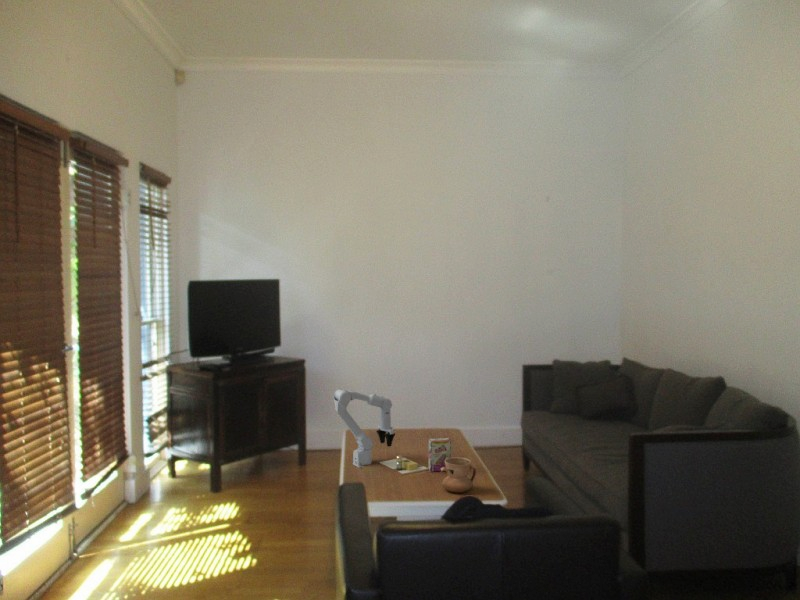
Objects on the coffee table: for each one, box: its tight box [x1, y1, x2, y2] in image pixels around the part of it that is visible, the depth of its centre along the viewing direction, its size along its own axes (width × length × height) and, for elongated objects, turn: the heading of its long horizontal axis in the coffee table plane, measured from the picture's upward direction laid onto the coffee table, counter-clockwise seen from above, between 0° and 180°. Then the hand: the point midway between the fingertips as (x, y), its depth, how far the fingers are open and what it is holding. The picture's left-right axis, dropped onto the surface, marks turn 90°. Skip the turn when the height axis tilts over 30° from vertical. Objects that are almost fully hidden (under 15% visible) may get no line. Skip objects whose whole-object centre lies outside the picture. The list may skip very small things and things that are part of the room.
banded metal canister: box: [395, 454, 403, 470], centre depth 352 cm, size 3×3×7 cm
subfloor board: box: [378, 457, 429, 477], centre depth 359 cm, size 16×24×1 cm, turn 32°
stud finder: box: [402, 458, 418, 471], centre depth 354 cm, size 5×9×3 cm, turn 32°
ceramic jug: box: [440, 456, 477, 493], centre depth 322 cm, size 18×14×14 cm
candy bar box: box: [427, 437, 452, 473], centre depth 353 cm, size 11×5×16 cm, turn 102°
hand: (385, 444), depth 369 cm, fingers open, 7 cm apart
